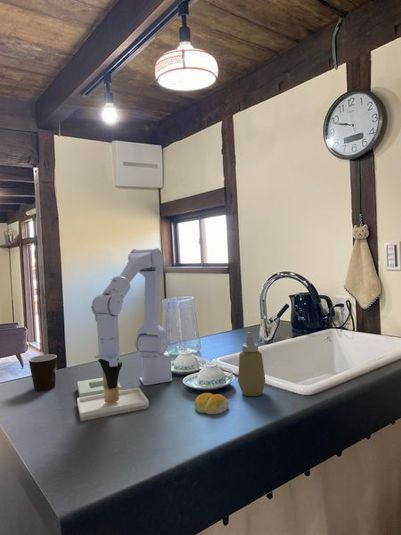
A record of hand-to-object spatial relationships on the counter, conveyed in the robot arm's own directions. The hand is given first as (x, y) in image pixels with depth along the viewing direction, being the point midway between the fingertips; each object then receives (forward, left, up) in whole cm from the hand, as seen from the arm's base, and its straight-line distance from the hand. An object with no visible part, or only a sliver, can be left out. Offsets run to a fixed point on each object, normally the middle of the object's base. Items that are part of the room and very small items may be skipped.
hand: (111, 385), depth 109 cm
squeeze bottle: (-39, +10, -6) cm, 41 cm away
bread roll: (-24, +14, -6) cm, 29 cm away
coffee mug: (+17, -28, -6) cm, 33 cm away
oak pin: (0, 0, -4) cm, 4 cm away
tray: (0, 0, -6) cm, 6 cm away
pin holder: (+2, -14, -6) cm, 15 cm away
